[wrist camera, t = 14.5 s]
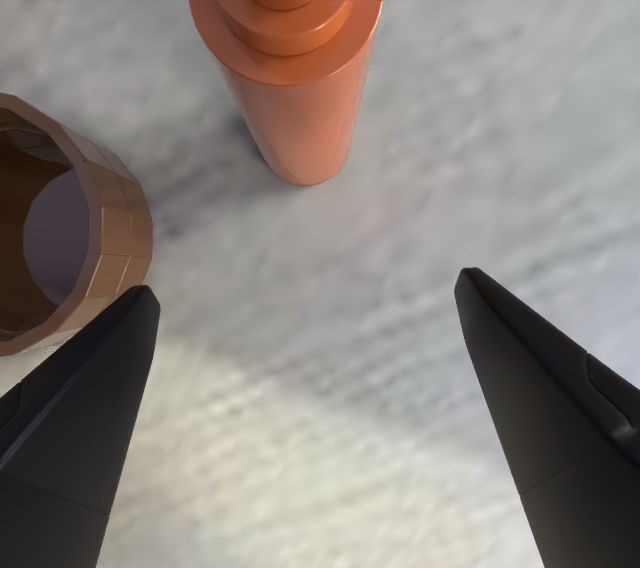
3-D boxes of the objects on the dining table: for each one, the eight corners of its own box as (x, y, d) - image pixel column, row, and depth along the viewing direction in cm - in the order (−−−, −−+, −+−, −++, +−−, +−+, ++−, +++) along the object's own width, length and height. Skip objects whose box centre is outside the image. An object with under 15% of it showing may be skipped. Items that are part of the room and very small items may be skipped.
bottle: (314, 203, 18) (299, 77, 6) (241, 148, 18) (88, -85, 6) (369, 129, 18) (460, -142, 6) (295, 73, 18) (245, -310, 6)
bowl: (137, 357, 18) (77, 384, 14) (-63, 314, 18) (-189, 328, 14) (176, 157, 18) (127, 119, 13) (-28, 114, 18) (-147, 60, 13)
